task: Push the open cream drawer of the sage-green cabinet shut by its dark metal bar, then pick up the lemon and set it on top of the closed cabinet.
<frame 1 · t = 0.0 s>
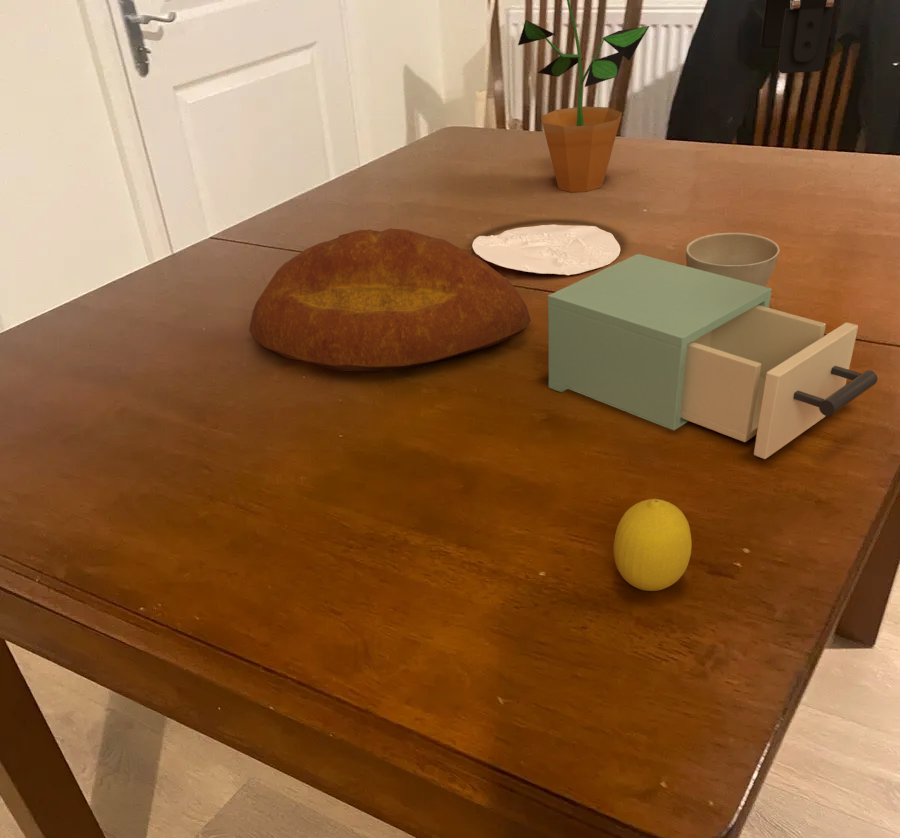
hand: (789, 58, 71), 29 cm above the table, tool pointing down, fingers open, 9 cm apart
bread: (390, 343, 107), on the table
drawer: (758, 374, 83), point 5 cm above the table, slide at 8.0 cm
potted plant: (578, 186, 147), on the table
flower pot: (724, 312, 106), on the table
cabinet: (651, 385, 94), on the table
plaque: (546, 253, 125), on the table
lemon: (648, 591, 69), on the table
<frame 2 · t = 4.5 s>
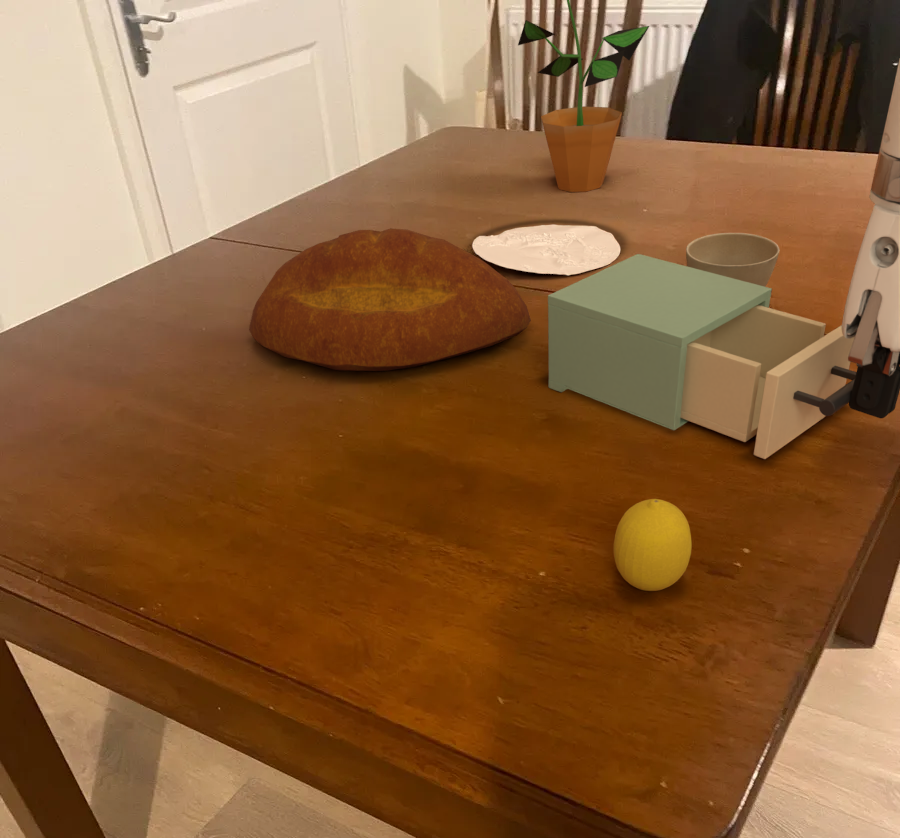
hand: (870, 409, 77), 5 cm above the table, tool pointing down, fingers closed
drawer: (758, 374, 83), point 5 cm above the table, slide at 8.0 cm, touching gripper
everything else where it was.
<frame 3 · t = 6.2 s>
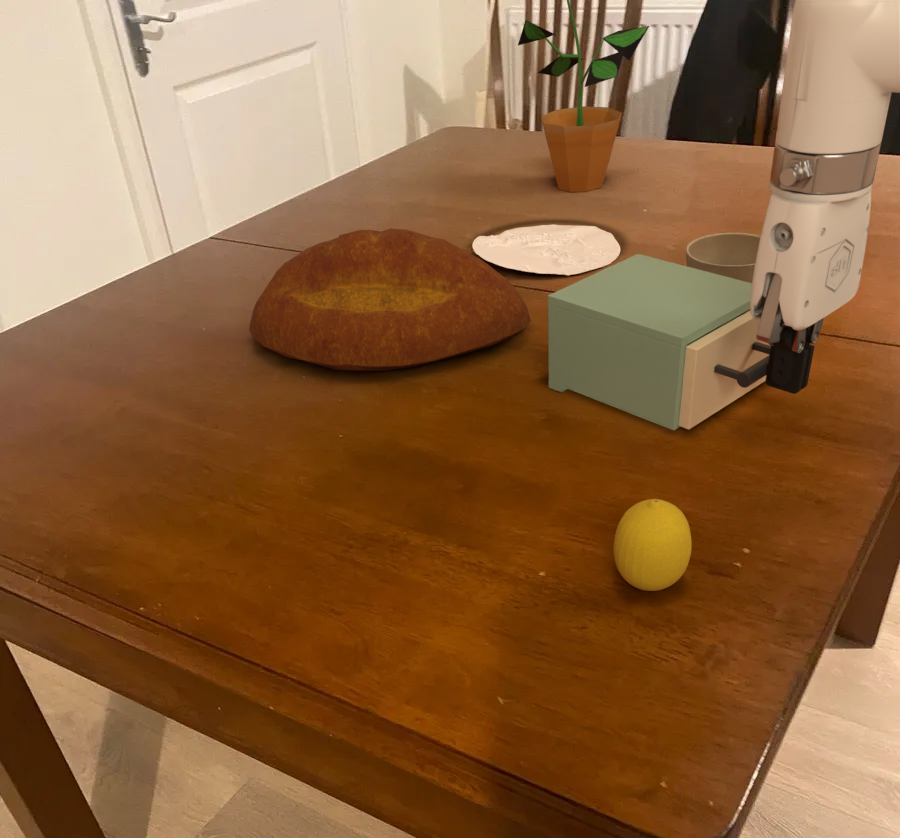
hand: (785, 385, 82), 5 cm above the table, tool pointing down, fingers closed
drawer: (686, 350, 88), point 5 cm above the table, slide at 0.0 cm, touching cabinet, gripper
everything else where it was.
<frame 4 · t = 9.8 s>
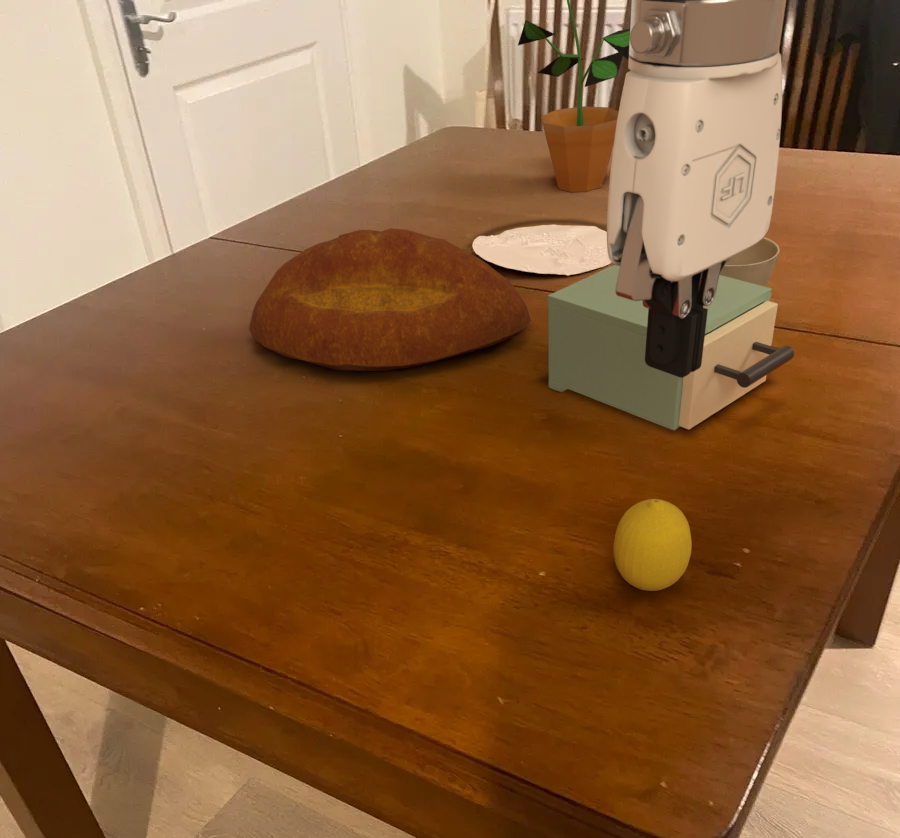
hand: (672, 366, 58), 18 cm above the table, tool pointing down, fingers closed
drawer: (686, 350, 88), point 5 cm above the table, slide at 0.0 cm, touching cabinet
everything else where it was.
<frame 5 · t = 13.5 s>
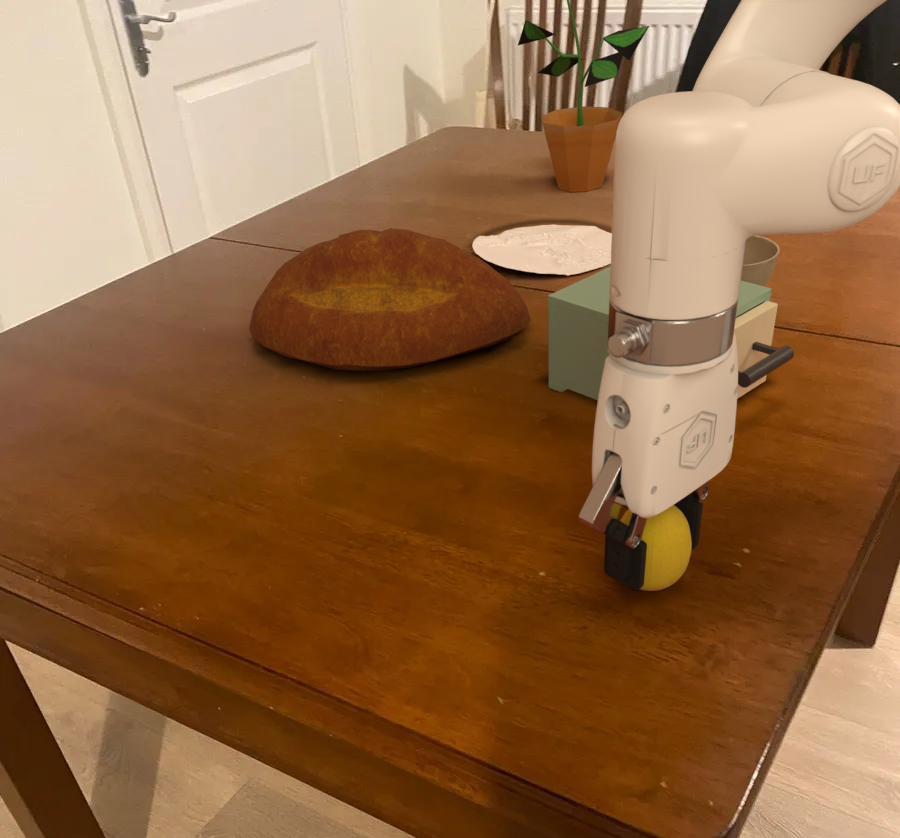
hand: (651, 558, 67), 3 cm above the table, tool pointing down, fingers closed on lemon, 5 cm apart
lemon: (648, 591, 69), on the table, touching gripper
everything else where it was.
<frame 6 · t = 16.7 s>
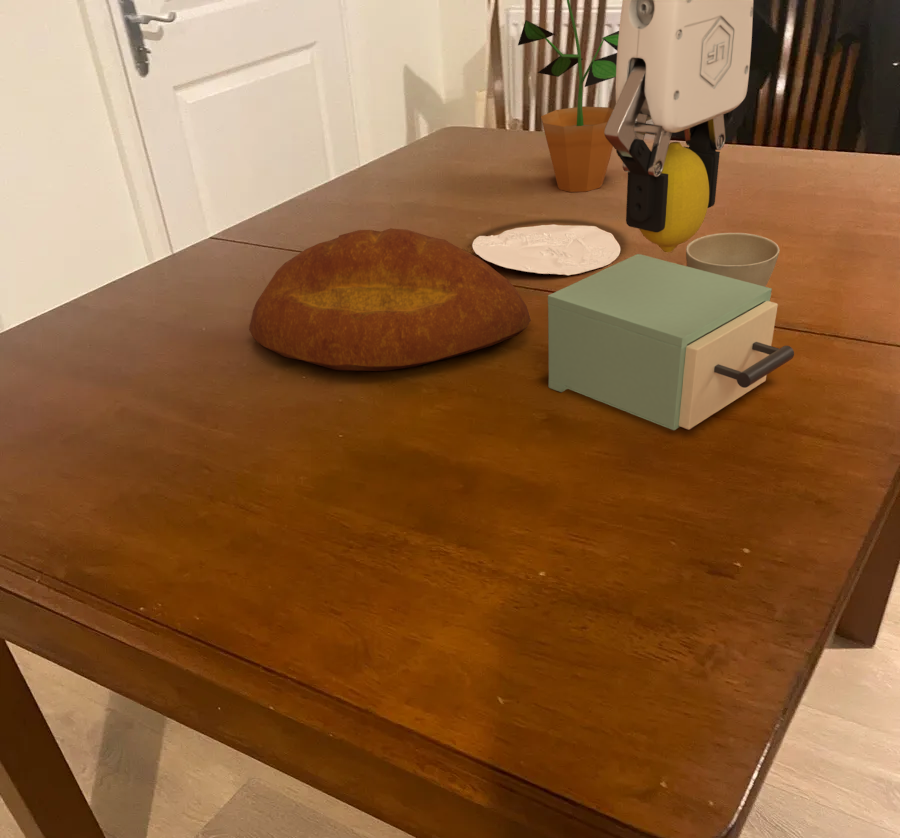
hand: (670, 213, 70), 21 cm above the table, tool pointing down, fingers closed on lemon, 5 cm apart
lemon: (667, 254, 72), point 18 cm above the table, touching gripper
everything else where it was.
when the fingers open (13 cm above the table, at t = 20.2 s): lemon stays where it is, resting on cabinet.
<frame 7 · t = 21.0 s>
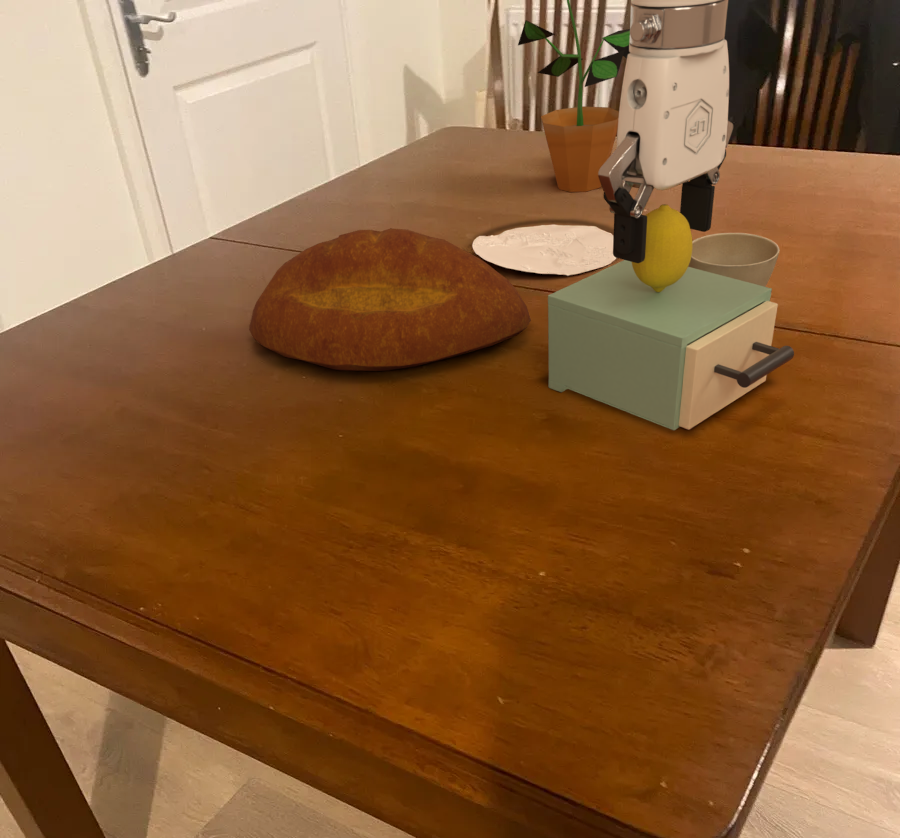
hand: (662, 243, 84), 14 cm above the table, tool pointing down, fingers open, 9 cm apart
lemon: (658, 293, 87), point 10 cm above the table, touching cabinet
everything else where it was.
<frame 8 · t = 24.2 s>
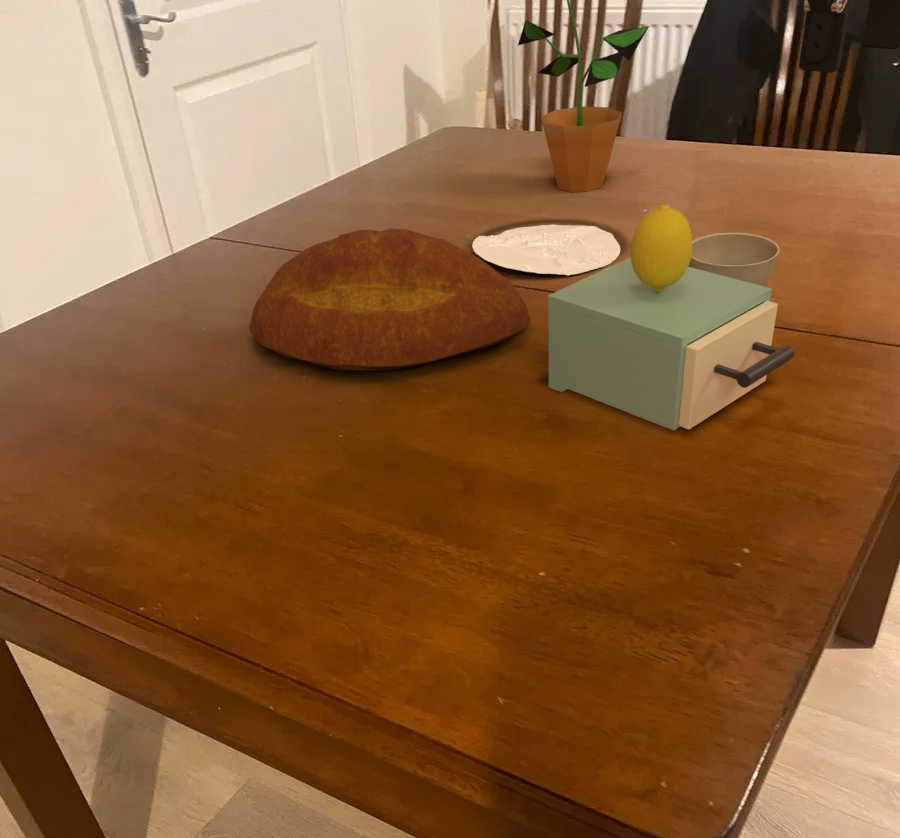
hand: (850, 58, 74), 28 cm above the table, tool pointing down, fingers open, 9 cm apart
nothing on the table moved.
at the end: drawer slide at 0.0 cm; lemon inside the target area on the cabinet (0.0 cm from its centre), point 9.6 cm above the cabinet's base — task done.
